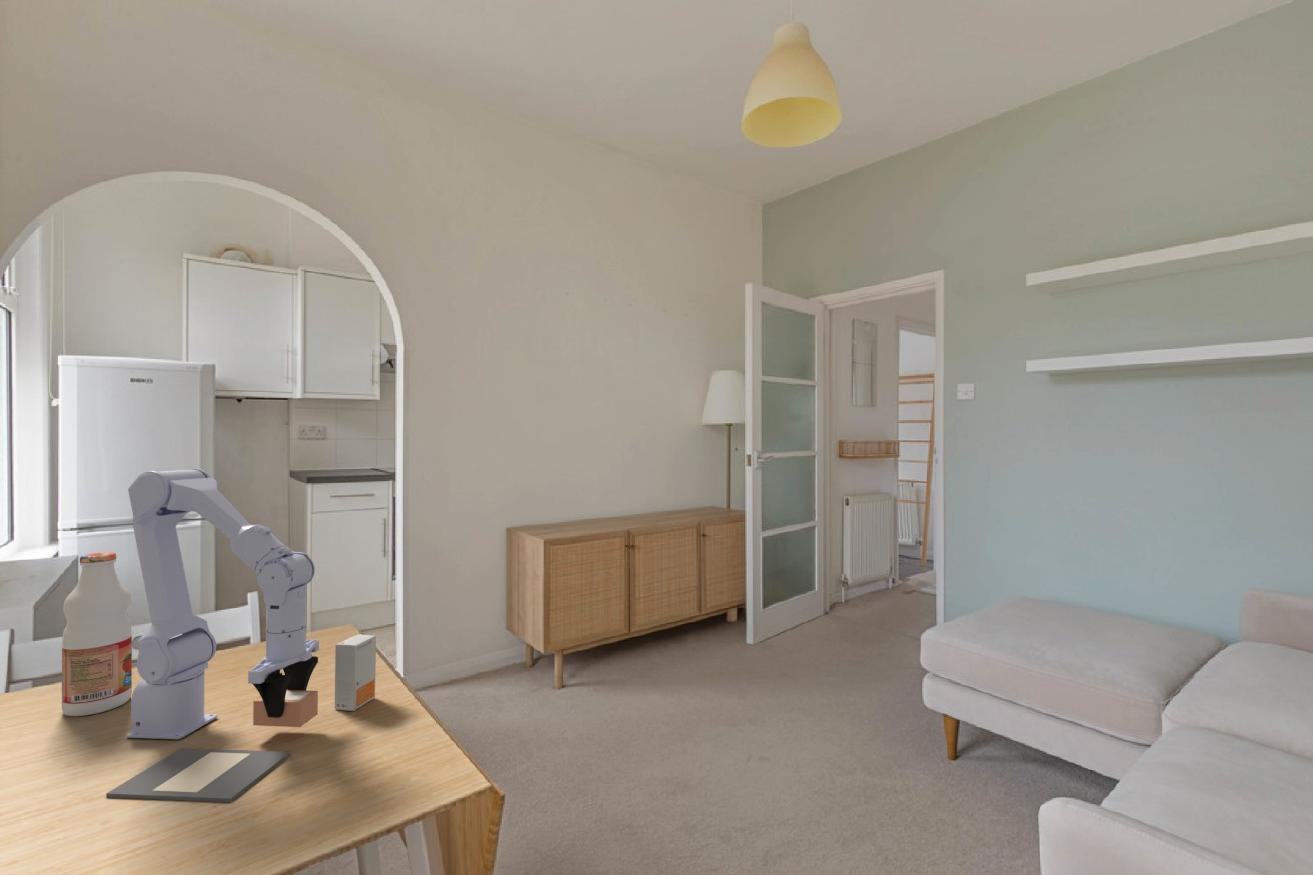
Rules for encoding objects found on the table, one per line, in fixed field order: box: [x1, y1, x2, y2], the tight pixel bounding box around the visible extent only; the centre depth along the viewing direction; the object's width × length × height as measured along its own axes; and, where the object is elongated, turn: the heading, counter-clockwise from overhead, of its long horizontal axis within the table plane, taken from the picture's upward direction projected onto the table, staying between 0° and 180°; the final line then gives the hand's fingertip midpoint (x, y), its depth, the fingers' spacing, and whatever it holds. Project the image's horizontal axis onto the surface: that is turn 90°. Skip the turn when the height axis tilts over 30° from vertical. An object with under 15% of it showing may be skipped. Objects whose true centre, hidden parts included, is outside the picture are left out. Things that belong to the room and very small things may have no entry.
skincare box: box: [334, 633, 377, 712], centre depth 110 cm, size 6×4×12 cm
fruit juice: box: [61, 551, 133, 717], centre depth 109 cm, size 9×9×28 cm
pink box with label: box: [252, 689, 319, 728], centre depth 99 cm, size 8×4×4 cm, turn 87°
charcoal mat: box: [105, 747, 292, 803], centre depth 87 cm, size 18×12×1 cm, turn 87°
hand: (285, 709), depth 99 cm, fingers closed on pink box with label, 4 cm apart
